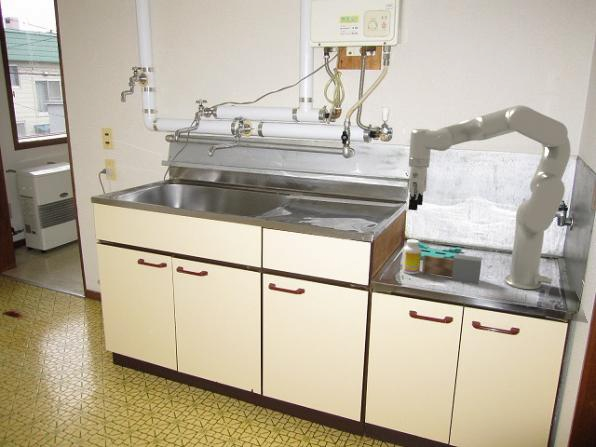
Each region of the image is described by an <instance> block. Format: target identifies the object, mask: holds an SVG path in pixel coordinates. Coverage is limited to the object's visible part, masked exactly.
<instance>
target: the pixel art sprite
mask: <svg viewBox="0 0 596 447" xmlns="http://www.w3.org/2000/svg"><path fill="white" fill-rule="evenodd" d="M418 247H420V249H421V258H420V261H423V256H424V255H428V256H435V257H442V258H449V259H454V256H455V254H461V253H462V247H455V248H454V247H450V248H443V249H439V248H432V247H430V245H426V244H425V243H422V241H419V245H418Z"/></svg>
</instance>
